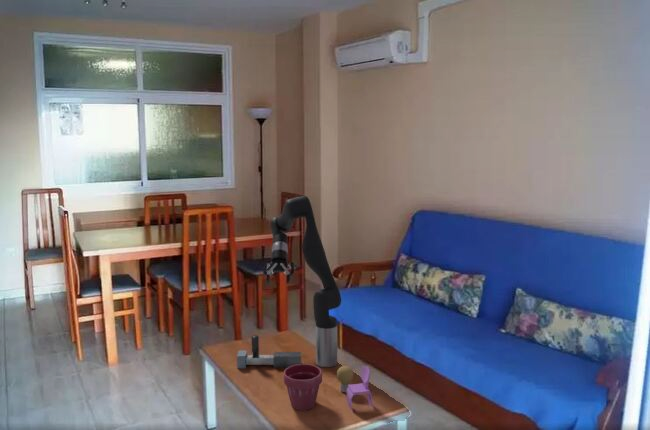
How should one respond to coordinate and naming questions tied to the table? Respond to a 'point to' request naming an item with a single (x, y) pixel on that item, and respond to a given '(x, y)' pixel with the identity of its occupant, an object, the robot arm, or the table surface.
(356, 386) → the toy chair
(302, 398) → the plant pot
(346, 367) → the light bulb
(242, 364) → the socket
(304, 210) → the robot arm
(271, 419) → the table surface
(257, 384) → the table surface
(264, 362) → the block with knob
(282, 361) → the sleeve
